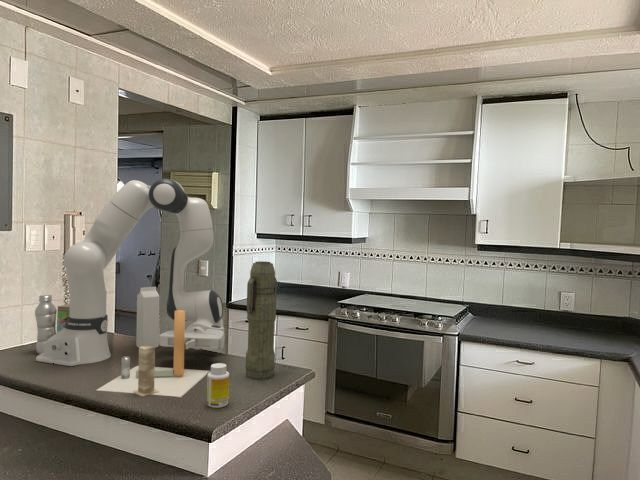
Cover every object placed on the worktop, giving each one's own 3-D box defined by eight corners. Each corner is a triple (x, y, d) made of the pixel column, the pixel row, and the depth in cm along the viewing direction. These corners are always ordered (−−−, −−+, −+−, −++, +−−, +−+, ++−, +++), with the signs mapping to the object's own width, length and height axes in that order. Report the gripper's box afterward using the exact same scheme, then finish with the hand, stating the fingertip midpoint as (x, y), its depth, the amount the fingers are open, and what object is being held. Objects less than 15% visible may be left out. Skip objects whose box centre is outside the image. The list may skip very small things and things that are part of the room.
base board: (95, 391, 130) (95, 390, 130) (136, 366, 152) (137, 365, 152) (180, 397, 127) (180, 396, 127) (209, 371, 149) (209, 370, 149)
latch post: (142, 398, 126) (143, 350, 125) (132, 393, 129) (133, 347, 129) (159, 393, 130) (160, 347, 129) (149, 388, 133) (150, 343, 132)
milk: (158, 347, 176) (160, 287, 175) (142, 349, 172) (143, 288, 171) (151, 343, 180) (153, 285, 179) (135, 346, 176) (137, 286, 175)
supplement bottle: (233, 404, 123) (234, 365, 123) (215, 410, 119) (216, 370, 119) (220, 398, 127) (221, 360, 127) (202, 404, 123) (203, 365, 123)
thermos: (282, 372, 151) (285, 261, 149) (260, 383, 140) (264, 264, 139) (259, 367, 155) (262, 260, 153) (236, 377, 144) (239, 262, 143)
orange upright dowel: (135, 377, 140) (136, 311, 139) (137, 374, 142) (138, 310, 142) (183, 376, 142) (184, 311, 141) (184, 372, 145) (185, 309, 144)
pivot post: (119, 378, 139) (119, 358, 139) (123, 376, 142) (124, 356, 142) (127, 379, 139) (127, 358, 139) (131, 376, 142) (131, 356, 141)
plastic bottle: (62, 352, 165) (60, 294, 165) (43, 357, 159) (41, 297, 159) (50, 351, 168) (49, 294, 168) (31, 355, 162) (29, 296, 162)
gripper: (168, 324, 159) (150, 334, 145) (228, 327, 157) (215, 337, 143) (168, 343, 159) (149, 354, 145) (228, 346, 157) (215, 358, 144)
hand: (183, 346), depth 144 cm, fingers closed
